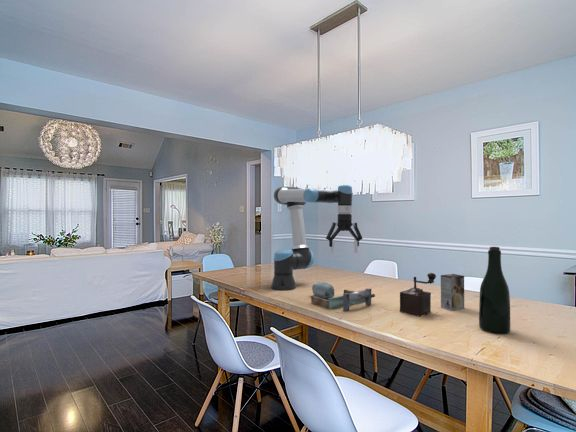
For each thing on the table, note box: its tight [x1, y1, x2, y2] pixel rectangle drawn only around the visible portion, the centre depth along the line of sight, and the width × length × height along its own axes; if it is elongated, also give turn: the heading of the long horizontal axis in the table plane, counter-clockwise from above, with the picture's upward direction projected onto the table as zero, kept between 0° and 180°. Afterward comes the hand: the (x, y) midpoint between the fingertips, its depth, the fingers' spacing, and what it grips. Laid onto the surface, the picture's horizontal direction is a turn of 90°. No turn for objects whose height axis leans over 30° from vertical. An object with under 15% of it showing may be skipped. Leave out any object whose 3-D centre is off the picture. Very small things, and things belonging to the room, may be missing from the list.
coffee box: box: [440, 273, 465, 311], centre depth 158 cm, size 9×6×16 cm
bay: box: [310, 288, 365, 310], centre depth 169 cm, size 14×26×5 cm, turn 126°
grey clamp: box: [342, 288, 376, 312], centre depth 159 cm, size 4×21×8 cm, turn 126°
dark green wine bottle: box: [478, 246, 511, 335], centre depth 127 cm, size 10×10×33 cm
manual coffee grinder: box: [399, 272, 437, 317], centre depth 153 cm, size 16×11×18 cm
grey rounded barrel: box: [311, 281, 335, 300], centre depth 178 cm, size 14×10×10 cm
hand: (344, 252), depth 175 cm, fingers open, 13 cm apart
